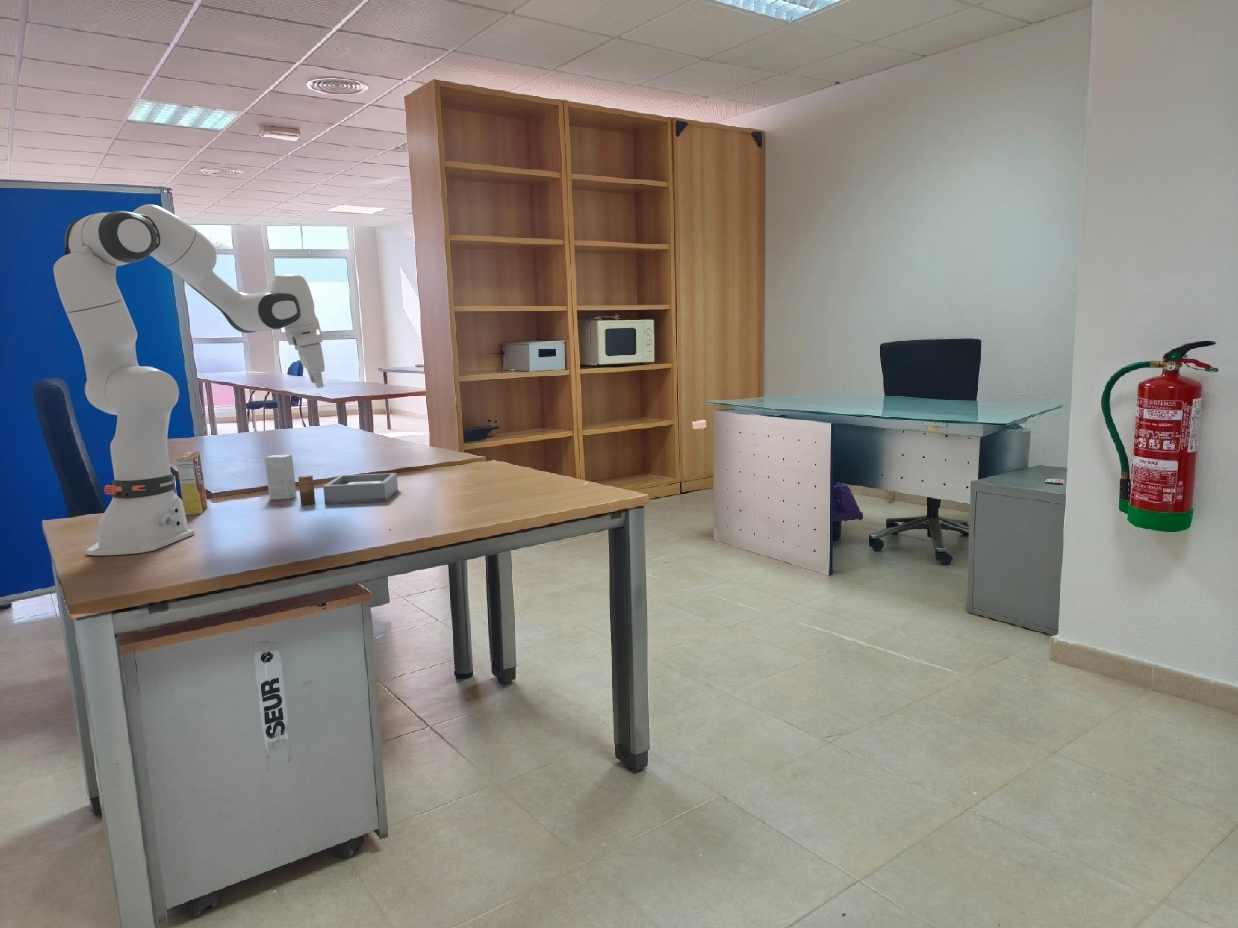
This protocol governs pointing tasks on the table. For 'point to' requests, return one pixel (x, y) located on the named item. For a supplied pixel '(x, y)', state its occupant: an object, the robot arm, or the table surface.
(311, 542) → the table surface
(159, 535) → the robot arm
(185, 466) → the candy box
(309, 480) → the peg
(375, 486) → the tray
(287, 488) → the skincare box
